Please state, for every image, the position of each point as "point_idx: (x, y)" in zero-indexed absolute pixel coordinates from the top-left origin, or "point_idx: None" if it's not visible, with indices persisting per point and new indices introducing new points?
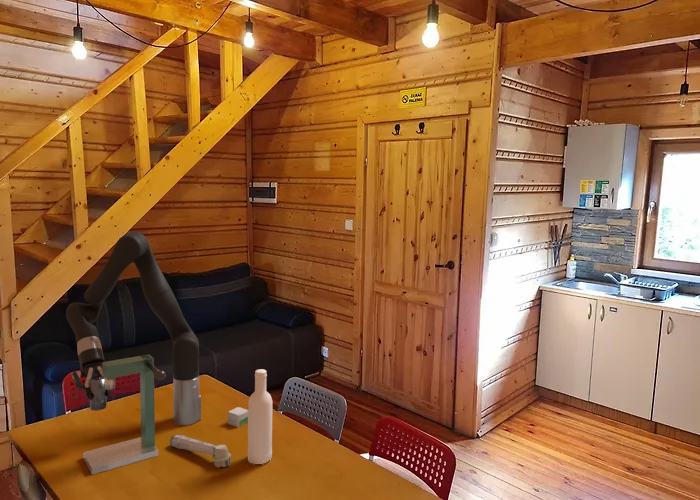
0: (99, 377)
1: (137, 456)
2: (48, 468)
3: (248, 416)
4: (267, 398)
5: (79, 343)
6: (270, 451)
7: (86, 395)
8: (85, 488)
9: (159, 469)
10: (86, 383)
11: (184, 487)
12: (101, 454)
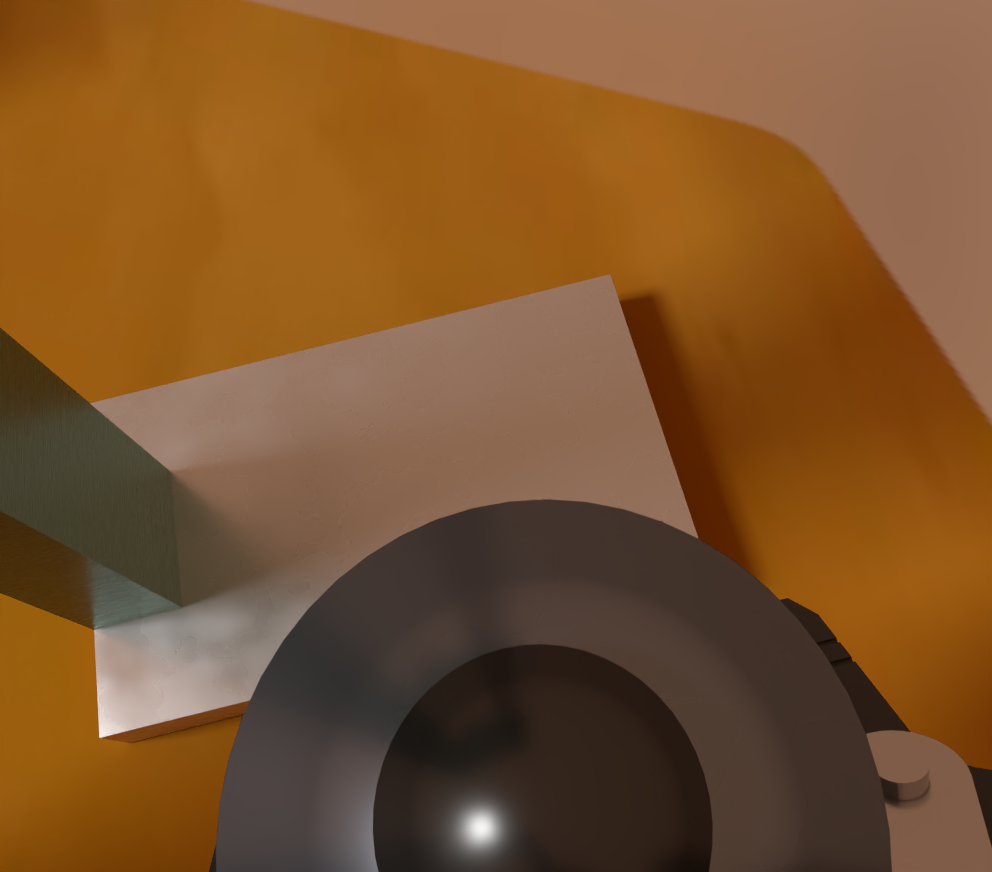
0: (465, 803)
1: (260, 366)
2: (984, 513)
3: None
4: None
5: None
6: None
7: (823, 623)
8: (638, 154)
9: (156, 234)
10: (955, 849)
11: (80, 18)
12: (543, 479)
